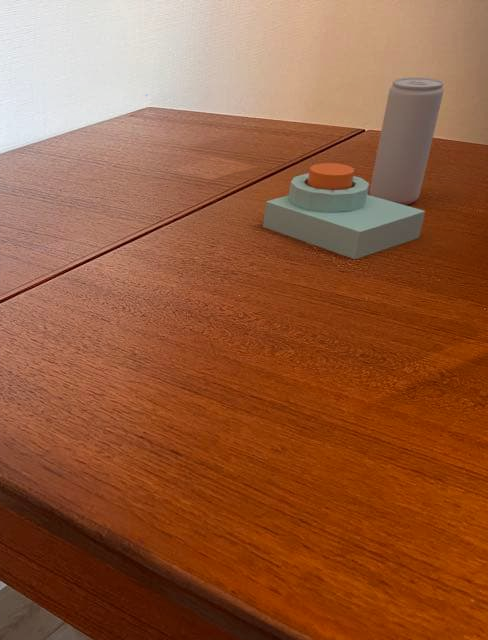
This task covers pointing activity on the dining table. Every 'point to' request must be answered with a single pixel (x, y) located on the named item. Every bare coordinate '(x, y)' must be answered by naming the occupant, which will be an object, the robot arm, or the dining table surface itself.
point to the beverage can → (406, 139)
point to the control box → (342, 218)
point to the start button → (330, 176)
